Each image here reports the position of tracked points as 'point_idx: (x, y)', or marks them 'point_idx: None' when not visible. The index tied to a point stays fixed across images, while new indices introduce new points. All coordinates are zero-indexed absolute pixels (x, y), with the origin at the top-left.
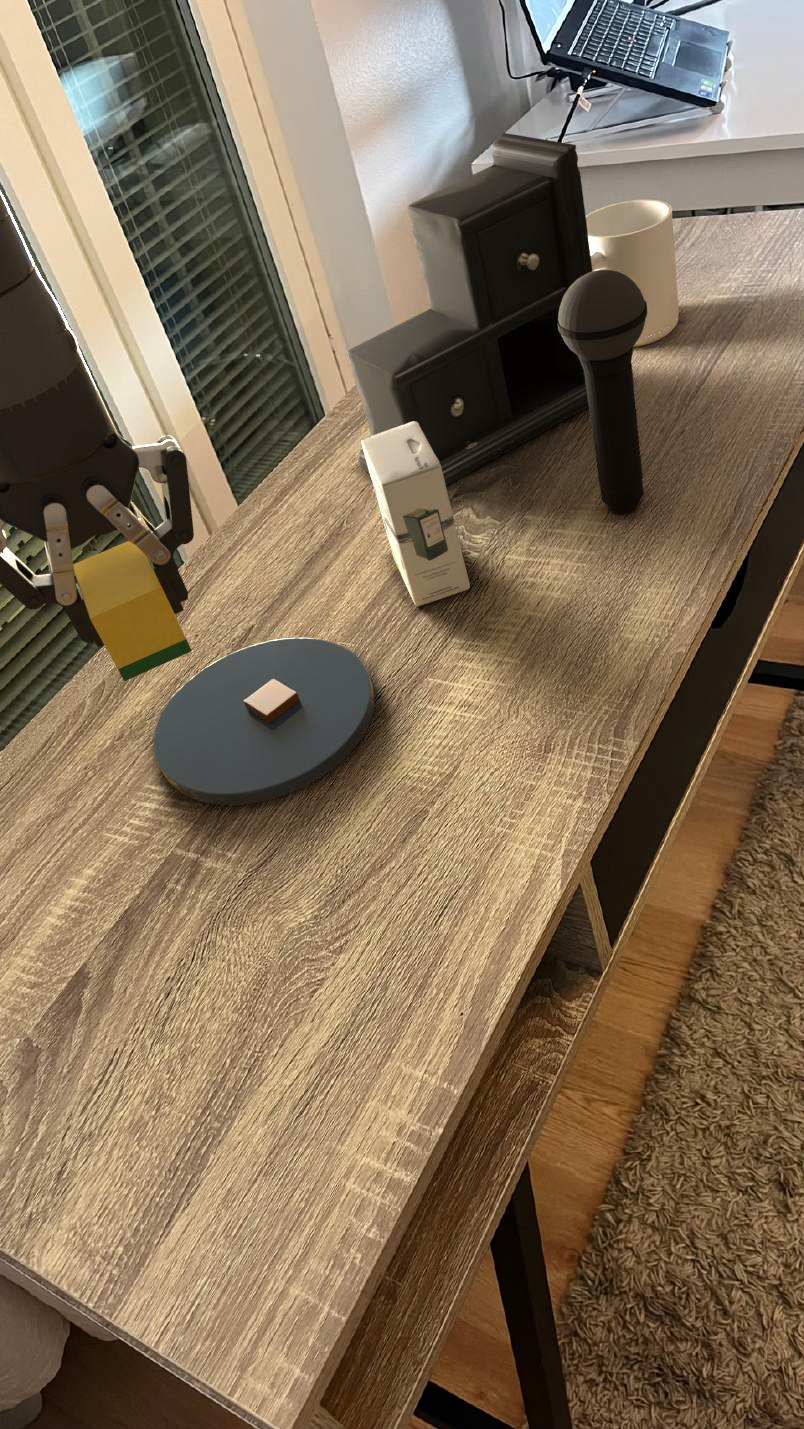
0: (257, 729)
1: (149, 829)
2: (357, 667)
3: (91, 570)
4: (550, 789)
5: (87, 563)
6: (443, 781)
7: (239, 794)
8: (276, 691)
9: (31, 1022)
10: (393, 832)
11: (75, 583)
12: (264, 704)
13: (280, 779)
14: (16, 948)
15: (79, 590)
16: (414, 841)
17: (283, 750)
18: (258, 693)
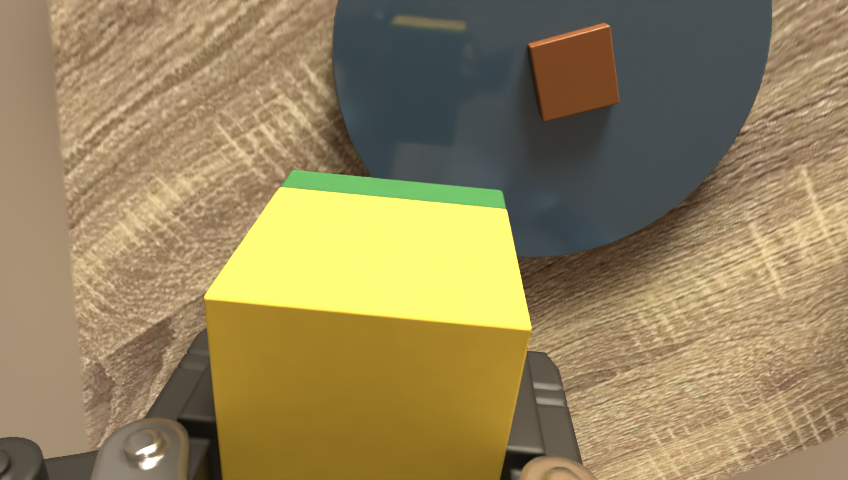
0: (516, 116)
1: (286, 165)
2: (744, 91)
3: (280, 395)
4: (735, 428)
5: (271, 343)
6: (661, 350)
7: None
8: (593, 70)
9: (102, 349)
10: (563, 375)
11: (204, 451)
12: (556, 89)
13: None
14: (76, 244)
15: (216, 462)
16: (574, 398)
17: (526, 195)
18: (563, 49)
